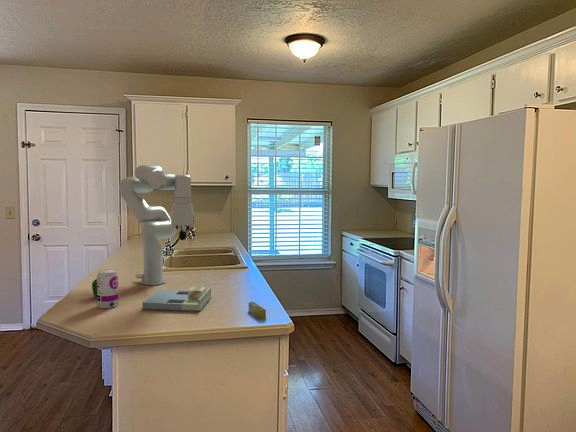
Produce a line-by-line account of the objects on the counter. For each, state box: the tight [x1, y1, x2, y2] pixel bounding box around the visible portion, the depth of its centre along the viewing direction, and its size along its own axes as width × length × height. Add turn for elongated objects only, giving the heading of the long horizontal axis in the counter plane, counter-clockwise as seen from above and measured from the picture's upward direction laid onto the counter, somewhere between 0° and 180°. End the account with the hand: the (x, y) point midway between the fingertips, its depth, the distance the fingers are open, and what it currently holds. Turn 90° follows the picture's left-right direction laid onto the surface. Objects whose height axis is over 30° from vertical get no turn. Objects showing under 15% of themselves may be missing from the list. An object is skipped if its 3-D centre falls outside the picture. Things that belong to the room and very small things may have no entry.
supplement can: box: [96, 268, 119, 309], centre depth 182 cm, size 8×8×15 cm
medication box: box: [248, 301, 267, 320], centre depth 176 cm, size 12×3×4 cm, turn 28°
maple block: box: [187, 286, 207, 300], centre depth 187 cm, size 6×6×4 cm
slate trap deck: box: [142, 287, 212, 313], centre depth 188 cm, size 24×20×5 cm
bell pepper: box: [91, 278, 97, 298], centre depth 196 cm, size 8×8×10 cm
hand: (182, 239), depth 206 cm, fingers closed
